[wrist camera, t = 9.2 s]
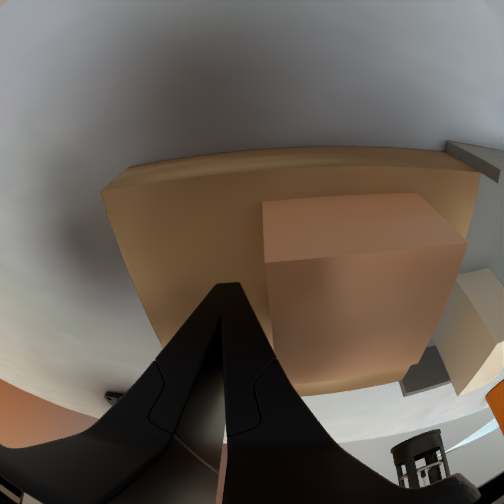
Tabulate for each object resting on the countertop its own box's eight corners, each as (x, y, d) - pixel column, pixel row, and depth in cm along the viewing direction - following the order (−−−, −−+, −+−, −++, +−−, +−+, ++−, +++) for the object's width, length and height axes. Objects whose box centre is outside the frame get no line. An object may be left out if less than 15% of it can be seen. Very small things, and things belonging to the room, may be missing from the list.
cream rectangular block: (430, 334, 15) (463, 324, 15) (457, 397, 11) (492, 381, 11) (452, 275, 12) (488, 267, 12) (497, 344, 8) (531, 327, 8)
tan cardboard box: (392, 305, 11) (417, 363, 8) (274, 319, 11) (277, 385, 8) (416, 192, 8) (468, 242, 5) (262, 201, 8) (264, 262, 6)
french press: (378, 451, 34) (392, 564, 15) (427, 428, 30) (449, 550, 11) (408, 450, 38) (423, 544, 19) (449, 429, 33) (470, 529, 14)
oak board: (391, 349, 17) (402, 380, 14) (196, 366, 17) (191, 398, 15) (445, 152, 9) (481, 172, 7) (129, 167, 10) (100, 191, 8)
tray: (481, 331, 16) (498, 363, 13) (389, 354, 17) (403, 396, 14) (545, 162, 8) (583, 188, 6) (446, 140, 9) (500, 170, 6)
